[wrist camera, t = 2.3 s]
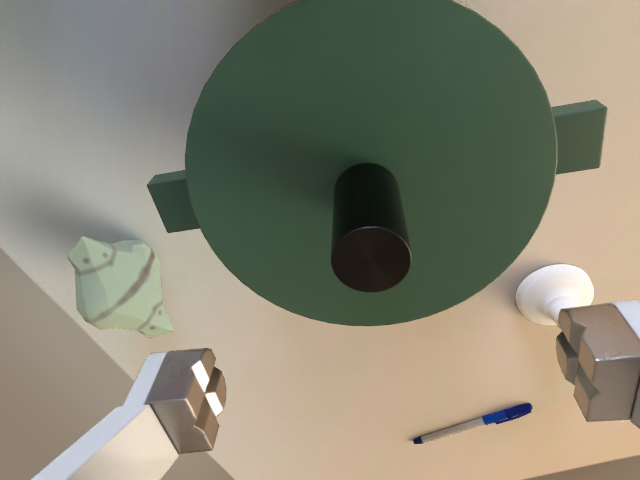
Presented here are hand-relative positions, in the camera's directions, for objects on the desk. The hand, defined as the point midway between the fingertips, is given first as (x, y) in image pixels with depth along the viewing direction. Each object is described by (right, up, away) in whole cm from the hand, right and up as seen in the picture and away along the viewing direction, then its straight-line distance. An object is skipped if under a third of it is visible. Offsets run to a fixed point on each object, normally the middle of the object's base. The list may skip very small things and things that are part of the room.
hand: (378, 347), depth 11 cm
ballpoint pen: (+11, -13, +30) cm, 34 cm away
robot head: (-13, +2, +21) cm, 25 cm away
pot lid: (0, +5, +7) cm, 8 cm away
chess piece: (+15, -1, +21) cm, 26 cm away
